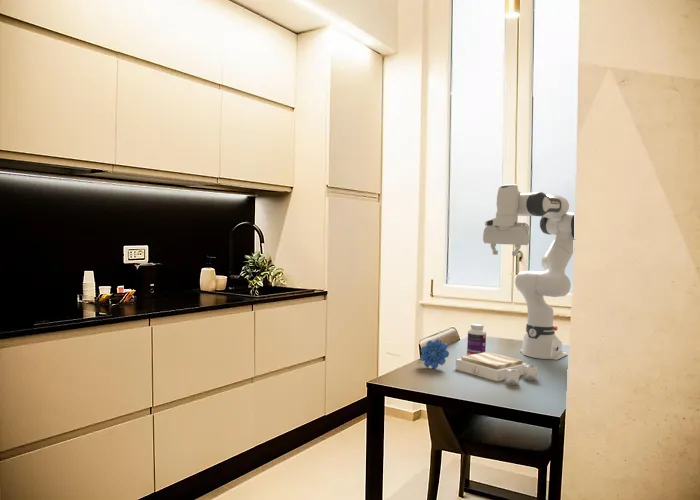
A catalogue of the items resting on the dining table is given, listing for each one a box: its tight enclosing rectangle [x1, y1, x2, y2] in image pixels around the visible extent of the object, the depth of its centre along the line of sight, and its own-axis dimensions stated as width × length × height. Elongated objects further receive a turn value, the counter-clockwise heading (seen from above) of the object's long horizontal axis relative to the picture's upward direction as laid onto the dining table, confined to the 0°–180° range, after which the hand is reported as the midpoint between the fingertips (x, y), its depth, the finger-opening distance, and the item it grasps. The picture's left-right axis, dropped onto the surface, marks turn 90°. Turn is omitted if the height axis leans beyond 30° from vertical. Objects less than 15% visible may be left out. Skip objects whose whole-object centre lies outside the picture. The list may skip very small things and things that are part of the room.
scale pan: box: [460, 351, 524, 369], centre depth 206 cm, size 17×17×1 cm
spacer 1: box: [504, 369, 520, 387], centre depth 190 cm, size 5×5×5 cm
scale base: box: [455, 357, 529, 382], centre depth 206 cm, size 21×20×4 cm
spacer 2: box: [522, 364, 539, 382], centre depth 197 cm, size 5×5×5 cm
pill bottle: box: [466, 323, 487, 356], centre depth 232 cm, size 8×8×14 cm
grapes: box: [419, 338, 450, 369], centre depth 209 cm, size 12×7×12 cm, turn 71°
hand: (504, 255), depth 217 cm, fingers open, 8 cm apart
